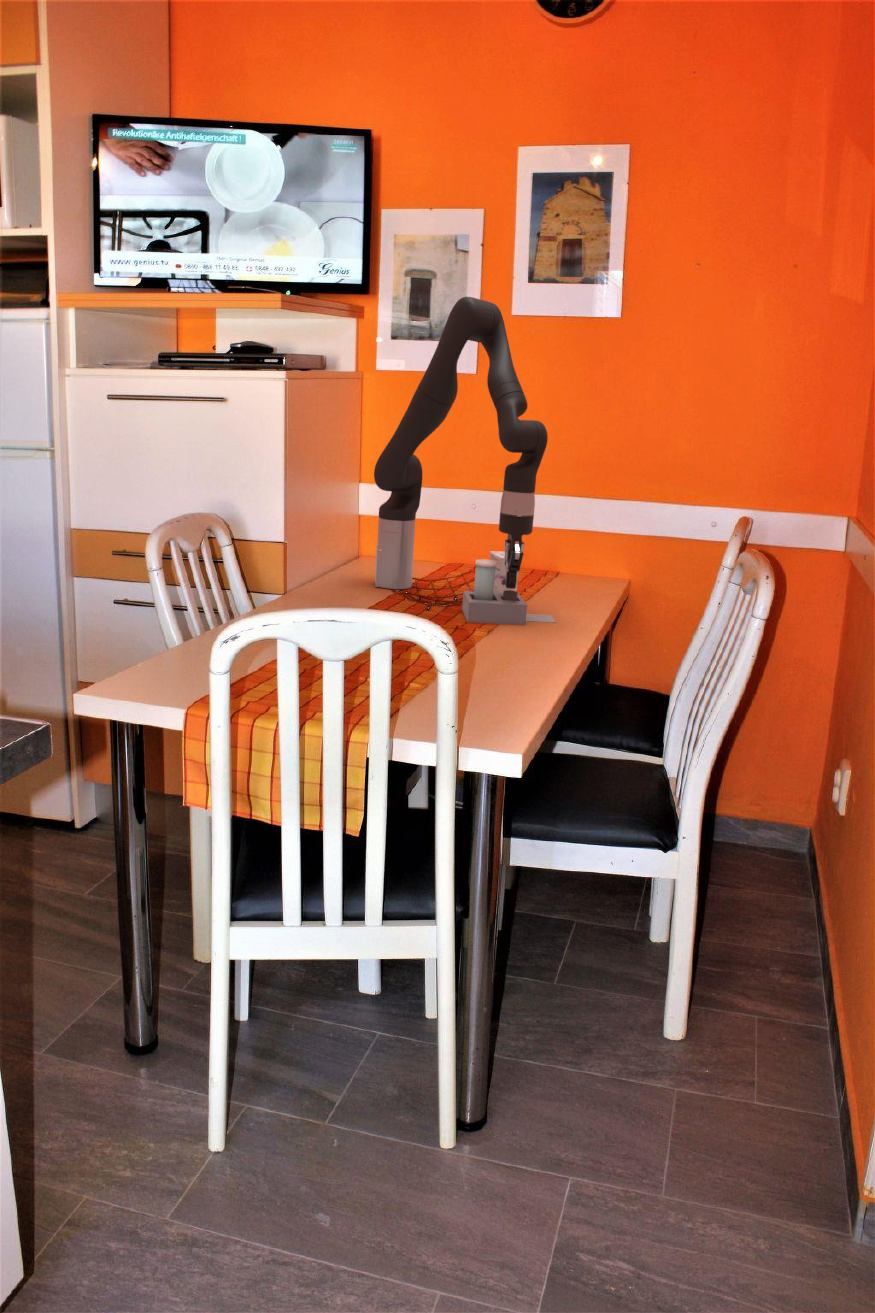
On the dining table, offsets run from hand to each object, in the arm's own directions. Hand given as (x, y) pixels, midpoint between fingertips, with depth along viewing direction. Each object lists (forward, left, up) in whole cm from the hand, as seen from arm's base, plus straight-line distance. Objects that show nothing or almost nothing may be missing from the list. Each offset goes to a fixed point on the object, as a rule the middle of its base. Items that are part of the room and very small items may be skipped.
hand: (510, 587), depth 253 cm
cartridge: (-6, 0, -7) cm, 9 cm away
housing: (-3, 0, -8) cm, 8 cm away
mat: (+7, +1, -8) cm, 10 cm away
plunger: (0, 0, -6) cm, 6 cm away
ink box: (+1, +20, -8) cm, 21 cm away
